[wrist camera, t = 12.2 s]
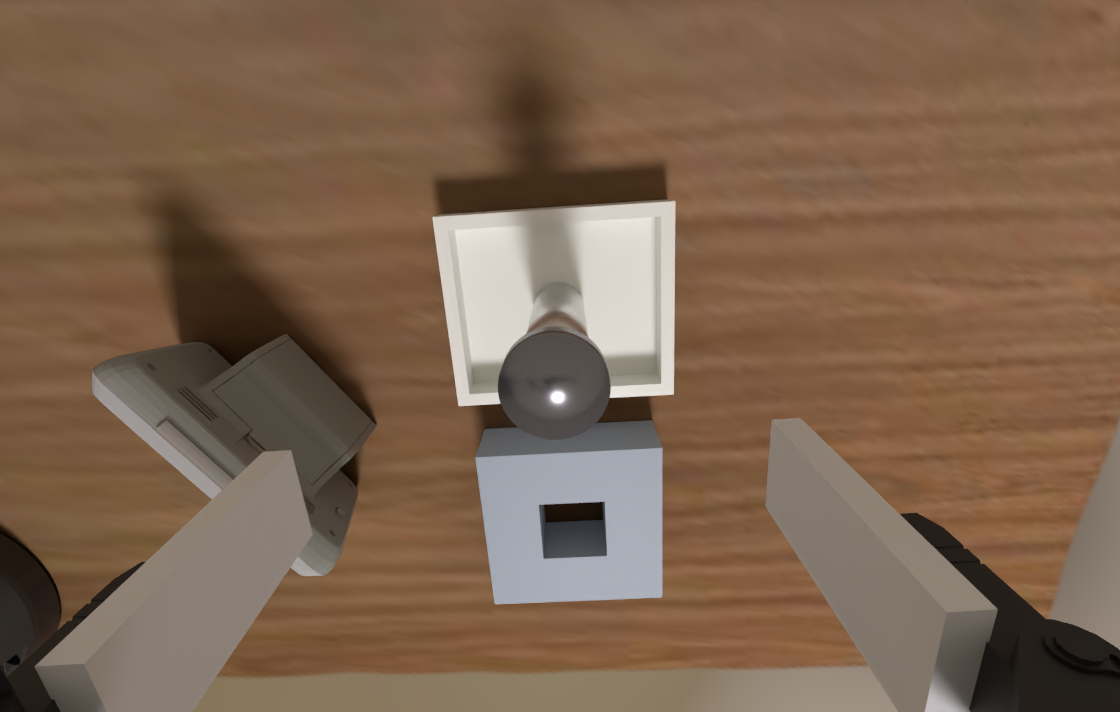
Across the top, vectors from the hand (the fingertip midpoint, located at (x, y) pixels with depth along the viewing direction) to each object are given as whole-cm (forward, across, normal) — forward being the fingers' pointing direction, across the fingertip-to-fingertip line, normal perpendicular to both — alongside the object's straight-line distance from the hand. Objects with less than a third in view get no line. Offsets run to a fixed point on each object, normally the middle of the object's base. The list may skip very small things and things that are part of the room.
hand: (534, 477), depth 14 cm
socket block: (+21, +1, -15) cm, 26 cm away
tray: (+21, +1, 0) cm, 21 cm away
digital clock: (+22, -18, -7) cm, 29 cm away
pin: (+20, +1, 0) cm, 21 cm away
